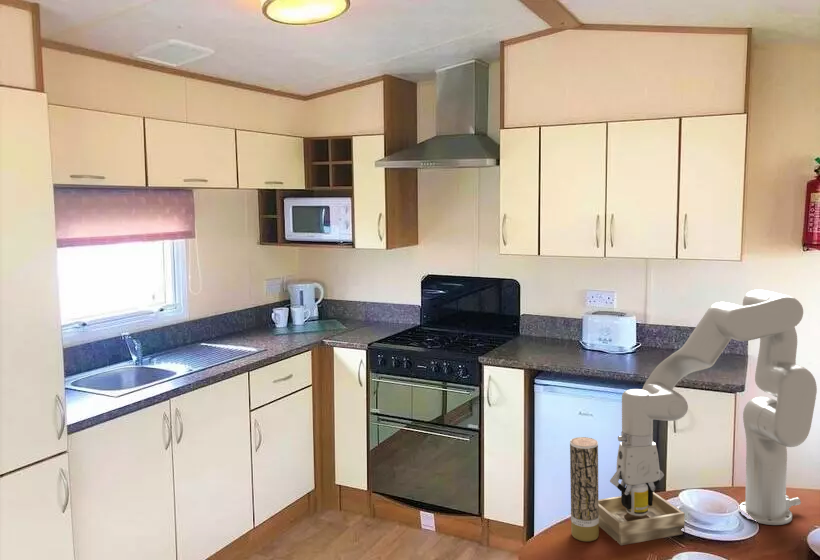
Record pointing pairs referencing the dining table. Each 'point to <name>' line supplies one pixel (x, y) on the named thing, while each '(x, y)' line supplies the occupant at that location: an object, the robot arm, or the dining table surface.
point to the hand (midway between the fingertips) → (637, 504)
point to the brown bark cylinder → (584, 488)
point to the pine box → (640, 521)
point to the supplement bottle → (638, 500)
